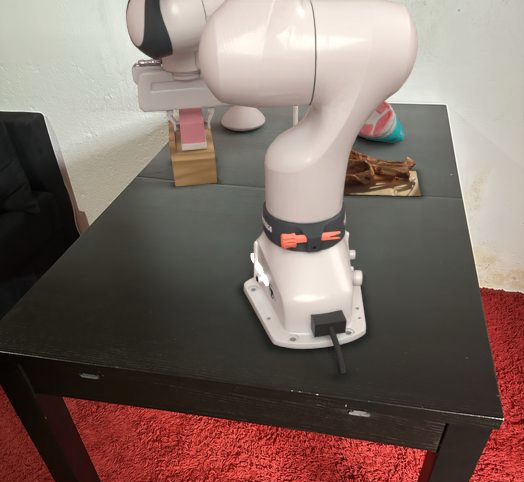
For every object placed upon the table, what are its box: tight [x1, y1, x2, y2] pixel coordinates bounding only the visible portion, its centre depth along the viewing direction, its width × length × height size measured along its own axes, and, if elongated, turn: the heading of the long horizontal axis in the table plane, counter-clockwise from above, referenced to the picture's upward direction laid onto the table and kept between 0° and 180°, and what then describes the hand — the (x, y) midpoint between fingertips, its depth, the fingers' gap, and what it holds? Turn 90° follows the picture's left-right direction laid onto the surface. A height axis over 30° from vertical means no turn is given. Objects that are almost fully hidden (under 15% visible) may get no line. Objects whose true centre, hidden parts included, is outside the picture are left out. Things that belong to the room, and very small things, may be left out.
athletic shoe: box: [357, 100, 406, 144], centre depth 130 cm, size 27×9×12 cm
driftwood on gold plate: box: [343, 148, 422, 197], centre depth 110 cm, size 14×7×28 cm
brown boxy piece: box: [167, 119, 218, 187], centre depth 114 cm, size 13×9×9 cm
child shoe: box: [178, 108, 207, 151], centre depth 111 cm, size 12×5×5 cm, turn 8°
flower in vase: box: [220, 105, 266, 132], centre depth 129 cm, size 13×11×25 cm
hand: (192, 129), depth 111 cm, fingers closed on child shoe, 5 cm apart
